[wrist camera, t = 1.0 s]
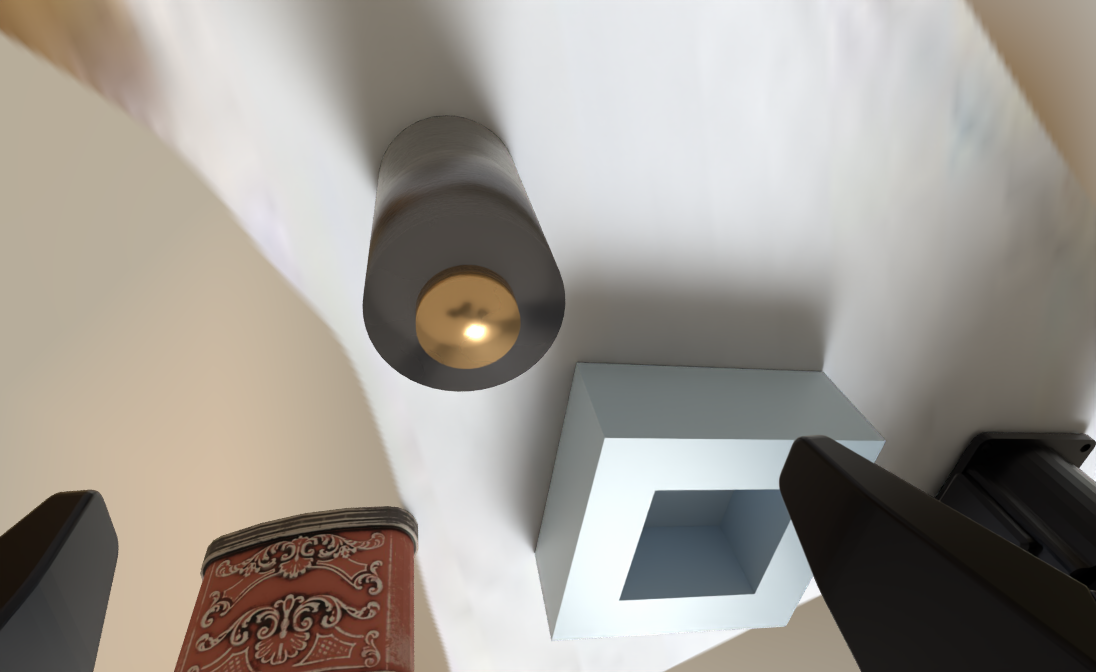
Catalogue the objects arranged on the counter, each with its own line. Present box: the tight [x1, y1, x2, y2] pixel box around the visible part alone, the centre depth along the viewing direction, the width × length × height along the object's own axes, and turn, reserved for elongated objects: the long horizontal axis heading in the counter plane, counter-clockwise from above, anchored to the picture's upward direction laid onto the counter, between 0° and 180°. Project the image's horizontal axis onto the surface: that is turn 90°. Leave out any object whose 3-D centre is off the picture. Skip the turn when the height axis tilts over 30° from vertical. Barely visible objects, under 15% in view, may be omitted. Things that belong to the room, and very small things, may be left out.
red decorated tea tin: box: [174, 506, 418, 672], centre depth 22 cm, size 8×3×10 cm, turn 94°
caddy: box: [535, 363, 886, 641], centre depth 25 cm, size 10×10×4 cm
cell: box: [363, 116, 565, 391], centre depth 16 cm, size 4×4×8 cm
